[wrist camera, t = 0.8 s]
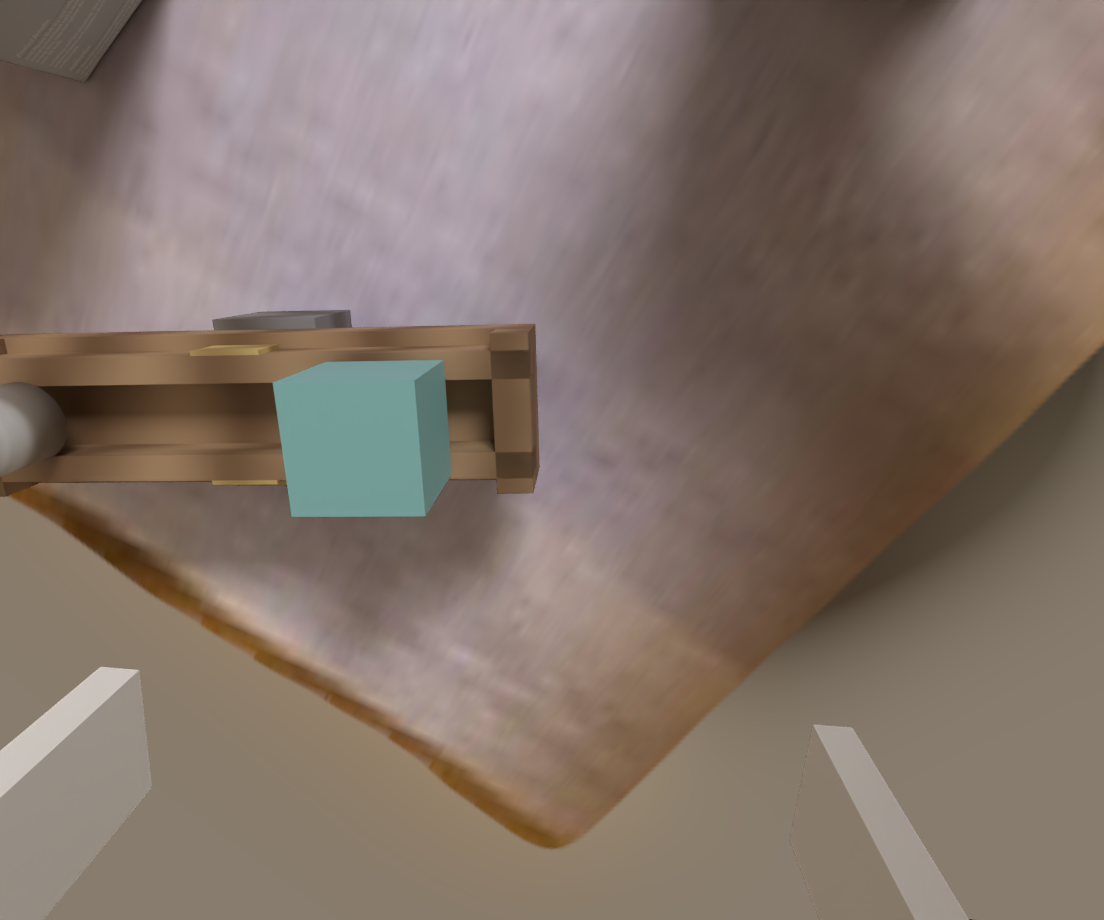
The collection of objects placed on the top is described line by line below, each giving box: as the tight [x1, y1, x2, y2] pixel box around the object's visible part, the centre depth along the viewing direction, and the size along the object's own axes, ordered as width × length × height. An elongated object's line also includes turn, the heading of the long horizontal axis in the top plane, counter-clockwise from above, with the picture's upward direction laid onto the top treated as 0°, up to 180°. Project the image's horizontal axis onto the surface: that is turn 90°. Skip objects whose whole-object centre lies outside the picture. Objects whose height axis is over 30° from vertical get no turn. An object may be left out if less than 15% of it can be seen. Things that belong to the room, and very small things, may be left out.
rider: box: [273, 360, 452, 517], centre depth 28 cm, size 5×5×7 cm
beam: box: [0, 310, 540, 497], centre depth 32 cm, size 26×8×13 cm, turn 91°
